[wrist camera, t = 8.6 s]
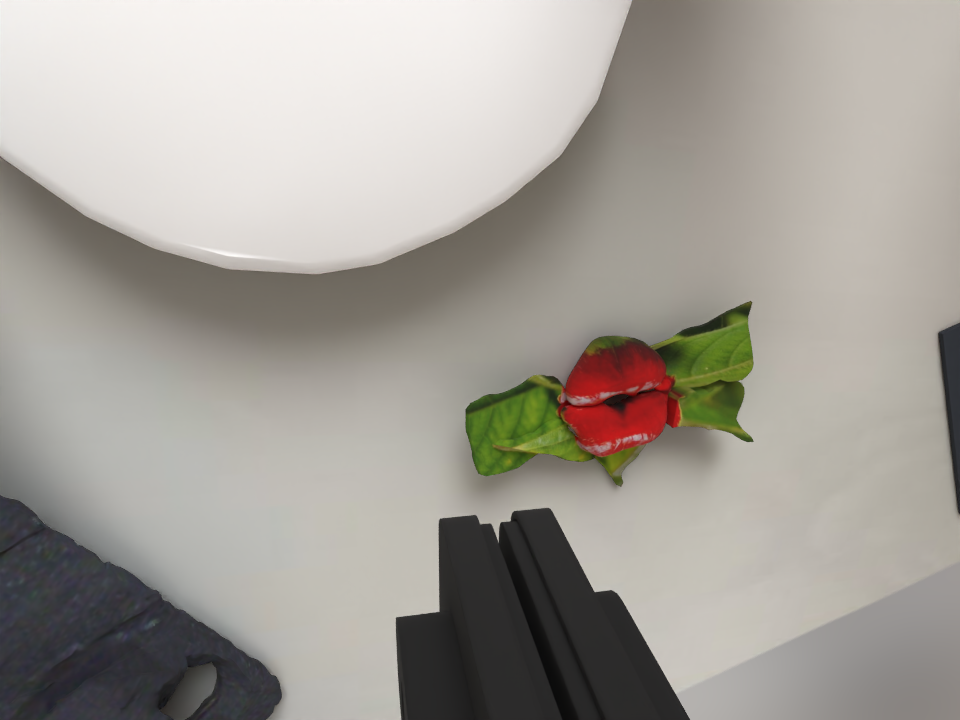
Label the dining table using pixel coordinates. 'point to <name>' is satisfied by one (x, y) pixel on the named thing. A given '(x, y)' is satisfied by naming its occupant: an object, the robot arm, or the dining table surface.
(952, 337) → the mat
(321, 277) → the dining table surface
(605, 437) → the decorative ornament
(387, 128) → the plate
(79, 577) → the dark slate chunk
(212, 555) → the dining table surface
